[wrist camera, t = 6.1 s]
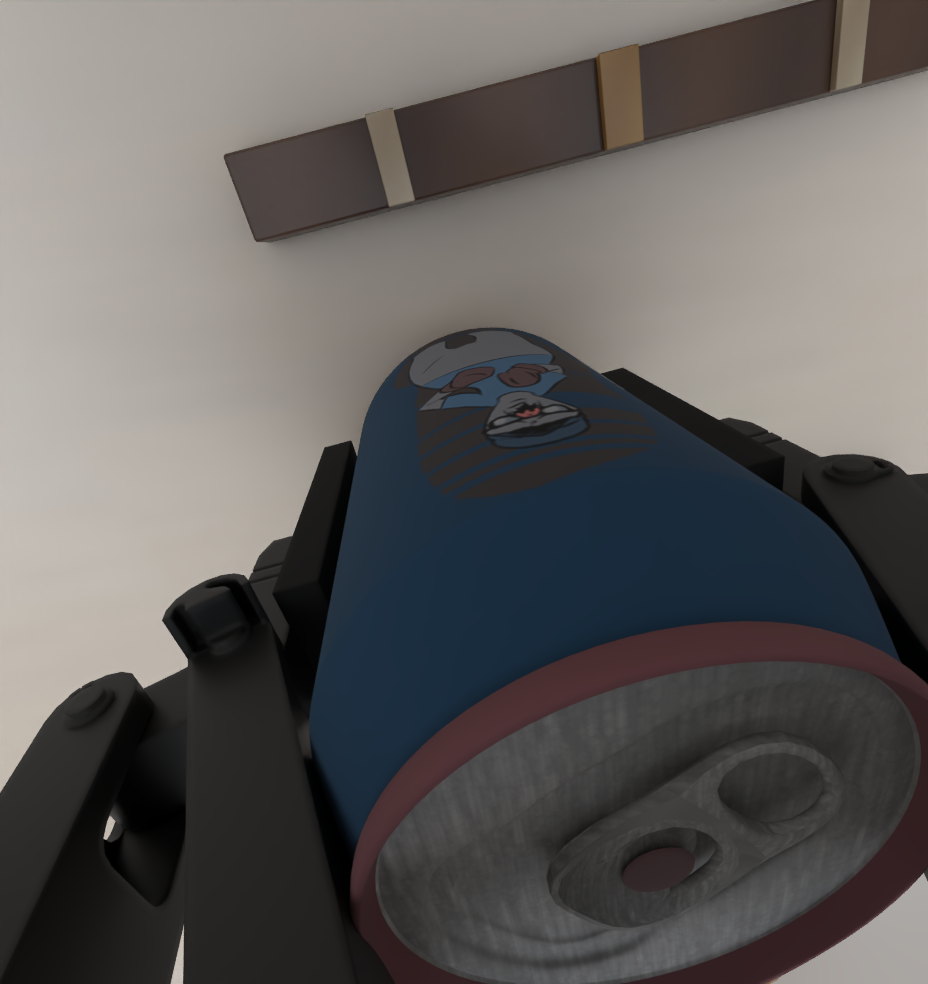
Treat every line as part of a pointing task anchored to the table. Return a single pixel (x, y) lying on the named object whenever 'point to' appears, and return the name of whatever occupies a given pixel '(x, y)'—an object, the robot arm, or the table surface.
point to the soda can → (600, 693)
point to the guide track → (576, 112)
